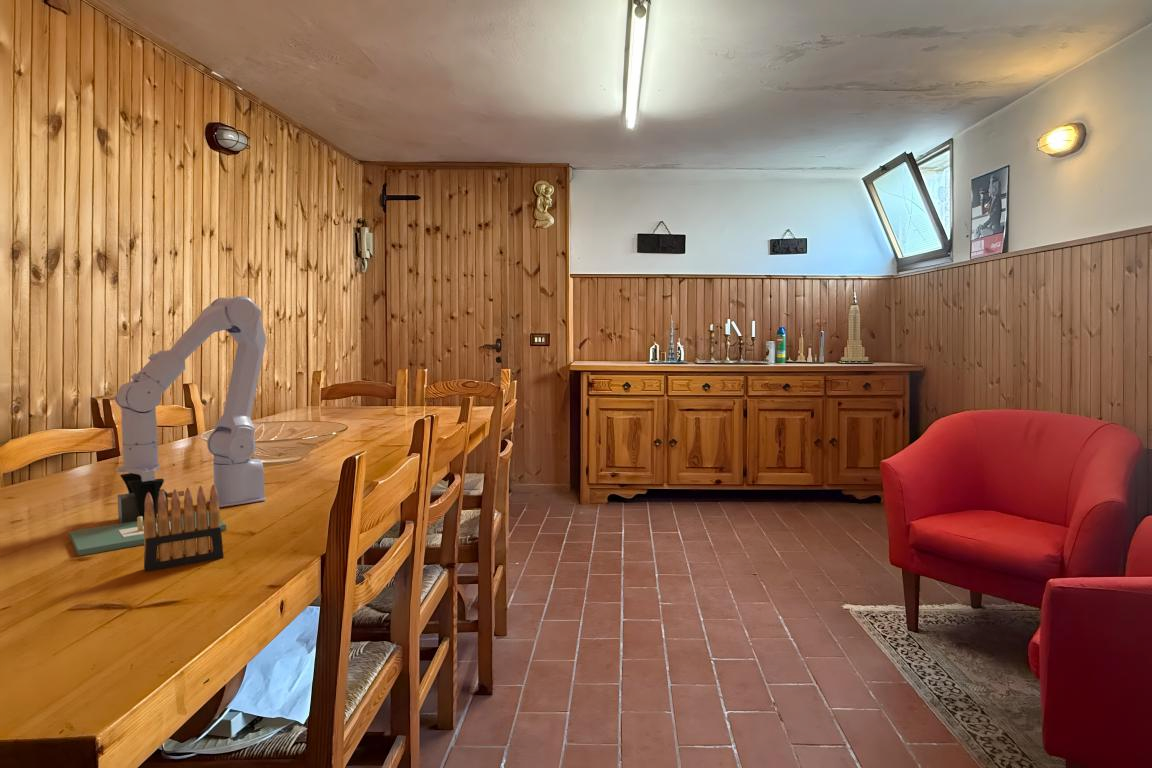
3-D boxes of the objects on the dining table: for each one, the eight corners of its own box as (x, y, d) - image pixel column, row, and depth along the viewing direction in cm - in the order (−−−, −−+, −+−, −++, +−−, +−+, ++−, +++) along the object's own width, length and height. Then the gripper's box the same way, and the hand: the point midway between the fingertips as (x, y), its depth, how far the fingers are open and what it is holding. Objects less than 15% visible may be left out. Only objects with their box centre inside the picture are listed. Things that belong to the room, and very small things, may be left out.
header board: (207, 514, 133) (206, 497, 133) (226, 529, 123) (225, 511, 123) (69, 536, 119) (68, 517, 119) (78, 556, 108) (77, 534, 108)
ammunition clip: (145, 572, 101) (141, 494, 100) (144, 568, 103) (140, 492, 102) (223, 558, 108) (220, 484, 107) (221, 555, 109) (218, 482, 108)
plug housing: (181, 510, 137) (180, 486, 136) (186, 514, 134) (185, 490, 133) (118, 520, 130) (117, 494, 129) (122, 525, 126) (121, 499, 126)
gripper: (109, 440, 132) (113, 508, 133) (121, 450, 121) (125, 523, 122) (151, 437, 137) (154, 502, 138) (166, 445, 126) (169, 516, 127)
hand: (143, 511), depth 130 cm, fingers open, 7 cm apart
